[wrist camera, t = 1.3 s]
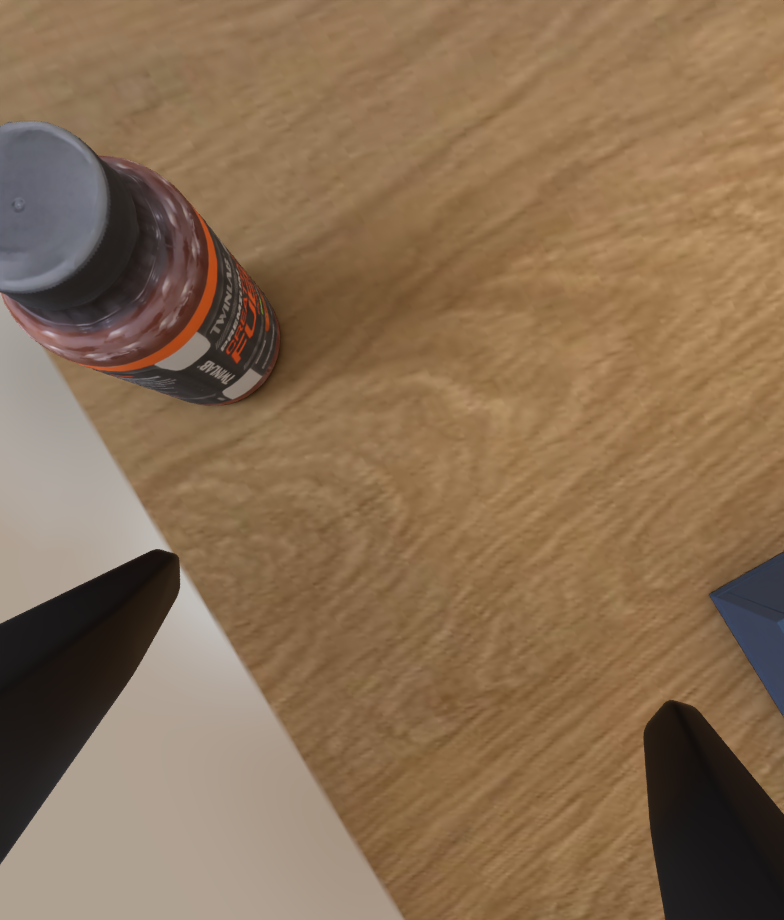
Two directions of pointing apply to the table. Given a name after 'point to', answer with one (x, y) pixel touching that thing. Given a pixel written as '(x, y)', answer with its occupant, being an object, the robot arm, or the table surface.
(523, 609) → the table surface
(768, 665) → the blue open box
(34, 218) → the supplement bottle
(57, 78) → the table surface
